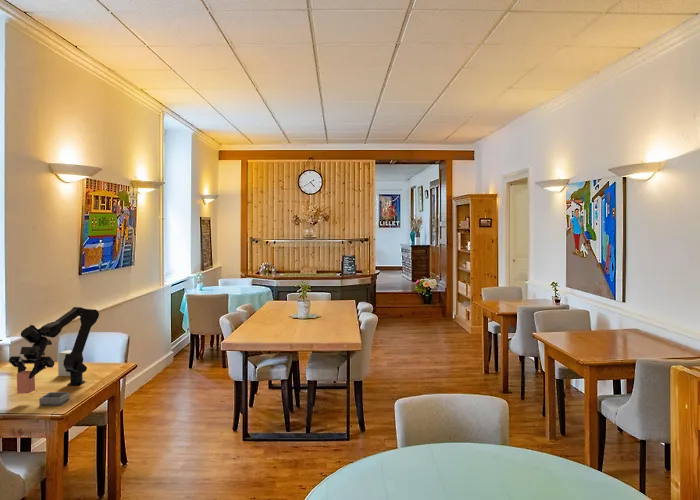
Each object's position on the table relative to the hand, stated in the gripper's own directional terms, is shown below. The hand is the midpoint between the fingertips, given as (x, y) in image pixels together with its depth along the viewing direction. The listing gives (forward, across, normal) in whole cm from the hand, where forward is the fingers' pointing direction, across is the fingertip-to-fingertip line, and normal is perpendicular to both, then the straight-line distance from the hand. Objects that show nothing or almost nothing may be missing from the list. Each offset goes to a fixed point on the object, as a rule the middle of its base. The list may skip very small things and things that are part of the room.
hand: (23, 378), depth 239 cm
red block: (+4, 0, +6) cm, 7 cm away
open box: (+7, +12, +10) cm, 17 cm away
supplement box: (-26, -7, +43) cm, 51 cm away
